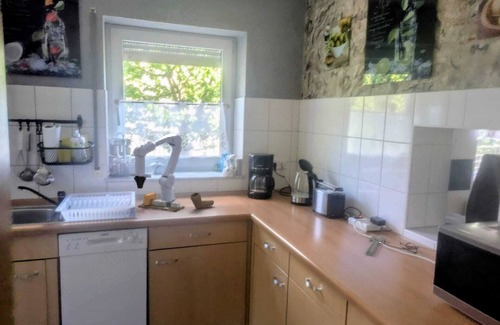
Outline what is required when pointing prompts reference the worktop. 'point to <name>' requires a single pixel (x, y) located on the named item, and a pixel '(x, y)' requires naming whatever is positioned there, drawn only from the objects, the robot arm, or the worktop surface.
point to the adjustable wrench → (374, 245)
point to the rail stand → (163, 205)
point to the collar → (149, 198)
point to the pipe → (198, 203)
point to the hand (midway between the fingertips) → (140, 188)
